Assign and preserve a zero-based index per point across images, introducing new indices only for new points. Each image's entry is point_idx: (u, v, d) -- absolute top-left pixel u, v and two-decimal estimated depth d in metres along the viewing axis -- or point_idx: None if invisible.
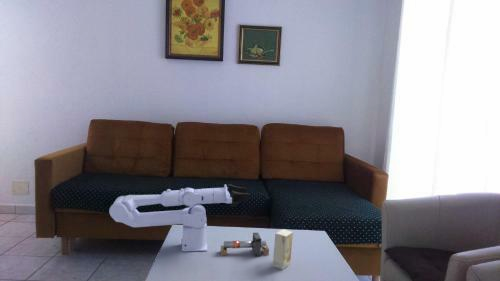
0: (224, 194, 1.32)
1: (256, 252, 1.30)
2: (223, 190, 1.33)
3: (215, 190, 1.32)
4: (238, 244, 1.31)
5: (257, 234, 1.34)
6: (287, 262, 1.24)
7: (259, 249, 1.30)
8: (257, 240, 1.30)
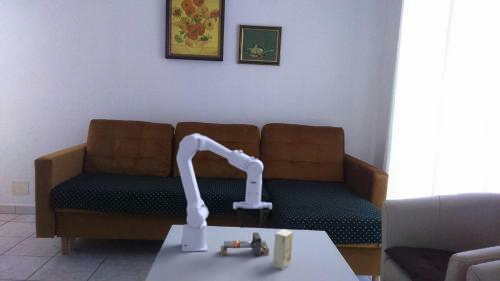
0: (246, 203, 1.29)
1: (256, 252, 1.30)
2: (249, 203, 1.28)
3: (250, 195, 1.28)
4: (238, 244, 1.31)
5: (257, 234, 1.34)
6: (287, 262, 1.24)
7: (259, 249, 1.30)
8: (257, 240, 1.30)
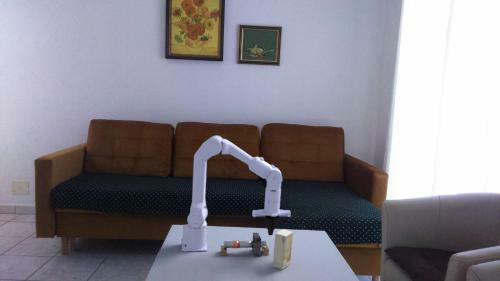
0: (265, 211, 1.31)
1: (256, 252, 1.30)
2: (269, 211, 1.30)
3: (270, 203, 1.29)
4: (238, 244, 1.31)
5: (257, 234, 1.34)
6: (287, 262, 1.24)
7: (259, 249, 1.30)
8: (257, 240, 1.30)
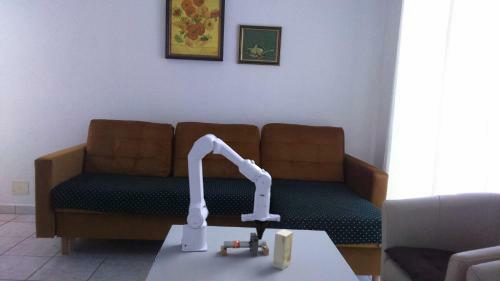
0: (254, 215, 1.31)
1: (253, 252, 1.30)
2: (258, 216, 1.29)
3: (259, 208, 1.29)
4: (238, 244, 1.31)
5: (254, 234, 1.34)
6: (287, 262, 1.24)
7: (256, 249, 1.30)
8: (254, 240, 1.30)
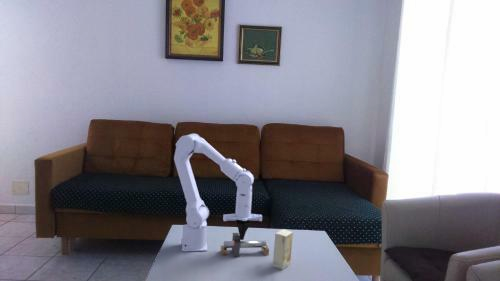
0: (236, 215, 1.29)
1: (235, 252, 1.29)
2: (239, 215, 1.28)
3: (240, 208, 1.28)
4: None
5: (237, 234, 1.33)
6: (287, 262, 1.24)
7: (238, 249, 1.29)
8: (236, 240, 1.28)
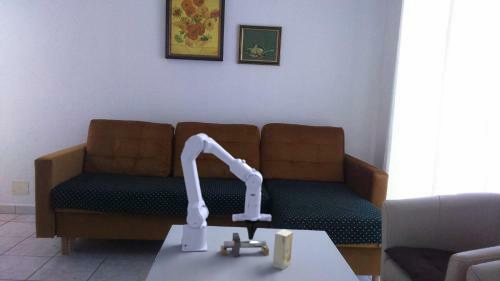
0: (245, 215, 1.30)
1: (235, 252, 1.29)
2: (249, 215, 1.29)
3: (250, 208, 1.28)
4: None
5: (237, 234, 1.33)
6: (287, 262, 1.24)
7: (238, 249, 1.29)
8: (236, 240, 1.28)
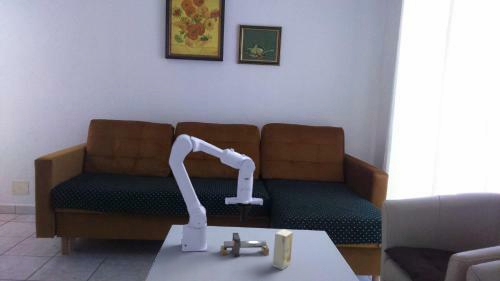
0: (237, 198, 1.35)
1: (235, 252, 1.29)
2: (241, 199, 1.34)
3: (242, 191, 1.33)
4: None
5: (237, 234, 1.33)
6: (287, 262, 1.24)
7: (238, 249, 1.29)
8: (236, 240, 1.28)
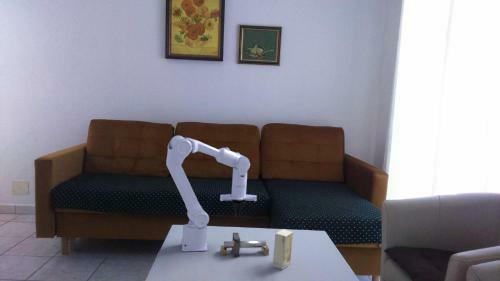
0: (232, 195, 1.38)
1: (235, 252, 1.29)
2: (235, 195, 1.37)
3: (236, 188, 1.37)
4: None
5: (237, 234, 1.33)
6: (287, 262, 1.24)
7: (238, 249, 1.29)
8: (236, 240, 1.28)
